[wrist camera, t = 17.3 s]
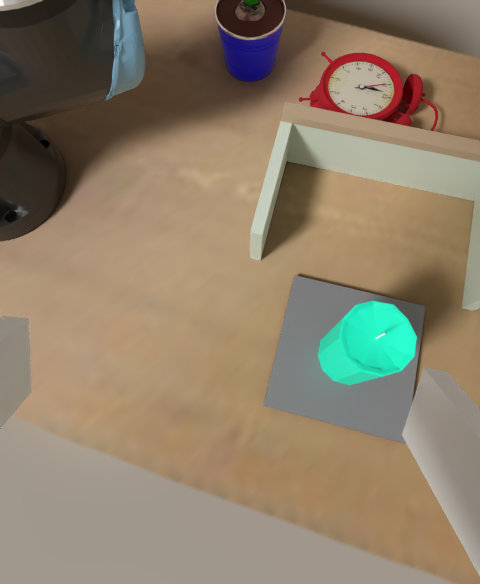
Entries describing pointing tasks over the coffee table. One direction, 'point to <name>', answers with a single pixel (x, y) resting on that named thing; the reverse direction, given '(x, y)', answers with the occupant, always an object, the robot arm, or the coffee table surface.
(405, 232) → the coffee table surface
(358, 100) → the alarm clock
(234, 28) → the hyacinth
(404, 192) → the coffee table surface
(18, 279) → the coffee table surface
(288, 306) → the slate tile
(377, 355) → the candle
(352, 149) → the white u-shaped frame
